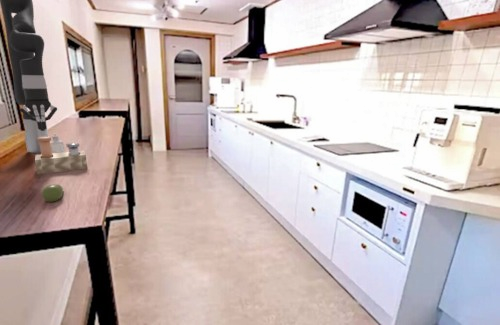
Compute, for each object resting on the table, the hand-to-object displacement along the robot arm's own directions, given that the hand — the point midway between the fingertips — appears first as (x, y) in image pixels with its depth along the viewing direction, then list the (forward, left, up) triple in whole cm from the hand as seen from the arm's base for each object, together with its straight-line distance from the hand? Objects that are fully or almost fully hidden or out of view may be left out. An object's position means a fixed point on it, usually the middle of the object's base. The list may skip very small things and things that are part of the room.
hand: (42, 130), depth 118 cm
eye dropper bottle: (-8, +20, -17) cm, 27 cm away
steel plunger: (+8, +5, -17) cm, 19 cm away
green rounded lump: (+20, -29, -17) cm, 39 cm away
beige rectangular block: (+4, +3, -17) cm, 18 cm away
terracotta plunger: (0, 0, -13) cm, 13 cm away
